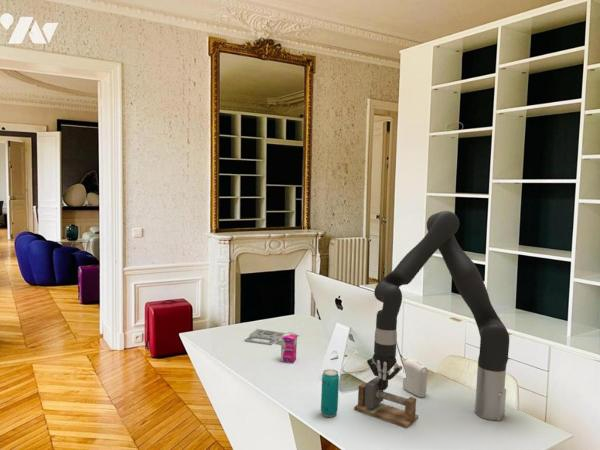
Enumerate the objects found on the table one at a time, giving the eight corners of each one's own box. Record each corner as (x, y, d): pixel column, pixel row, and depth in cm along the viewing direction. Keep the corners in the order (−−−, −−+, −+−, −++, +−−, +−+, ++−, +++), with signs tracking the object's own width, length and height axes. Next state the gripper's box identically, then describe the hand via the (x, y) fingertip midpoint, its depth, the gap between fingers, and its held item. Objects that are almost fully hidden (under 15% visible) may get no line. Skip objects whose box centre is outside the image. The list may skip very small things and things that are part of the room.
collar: (382, 400, 177) (384, 379, 176) (372, 408, 171) (373, 385, 170) (375, 398, 179) (376, 376, 178) (364, 405, 172) (365, 383, 172)
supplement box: (280, 362, 218) (281, 336, 217) (284, 357, 224) (284, 333, 223) (293, 363, 217) (294, 338, 216) (296, 359, 222) (297, 334, 221)
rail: (418, 418, 170) (419, 395, 169) (406, 428, 162) (408, 404, 162) (366, 401, 182) (367, 380, 181) (354, 410, 174) (355, 388, 174)
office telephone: (299, 332, 257) (286, 343, 238) (298, 337, 257) (286, 348, 238) (257, 326, 264) (242, 337, 245) (257, 331, 264) (242, 342, 245)
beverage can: (327, 408, 175) (328, 367, 173) (340, 414, 171) (342, 371, 170) (317, 414, 170) (318, 372, 169) (330, 419, 166) (332, 376, 165)
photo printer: (400, 388, 195) (402, 357, 194) (409, 386, 197) (410, 356, 196) (419, 398, 186) (421, 366, 185) (427, 396, 188) (429, 364, 187)
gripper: (408, 342, 170) (405, 391, 171) (373, 334, 178) (371, 380, 179) (398, 347, 164) (395, 398, 165) (363, 338, 172) (361, 387, 173)
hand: (383, 389), depth 172 cm, fingers closed
